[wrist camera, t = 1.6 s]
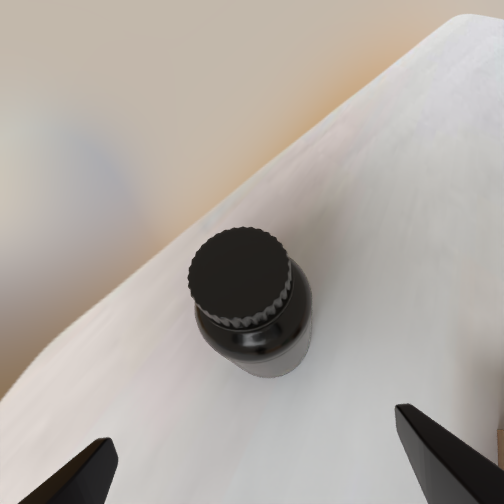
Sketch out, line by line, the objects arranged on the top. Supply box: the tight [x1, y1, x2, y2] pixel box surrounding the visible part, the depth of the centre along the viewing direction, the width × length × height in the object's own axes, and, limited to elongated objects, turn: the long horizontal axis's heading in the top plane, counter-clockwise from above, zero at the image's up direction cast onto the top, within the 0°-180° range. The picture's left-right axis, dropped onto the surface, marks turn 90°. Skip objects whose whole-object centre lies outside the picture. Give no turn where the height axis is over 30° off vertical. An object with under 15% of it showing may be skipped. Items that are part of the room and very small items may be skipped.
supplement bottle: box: [187, 227, 312, 378], centre depth 17 cm, size 7×7×12 cm
